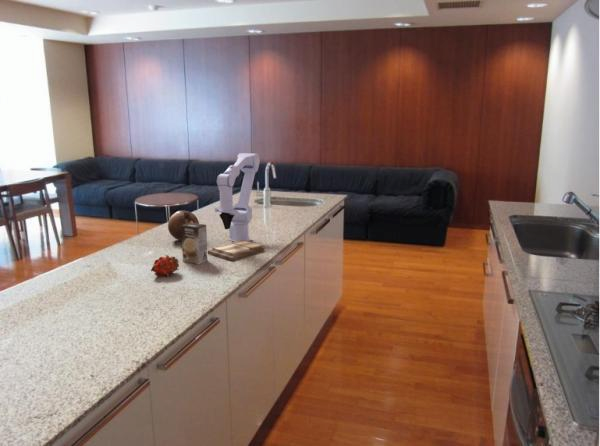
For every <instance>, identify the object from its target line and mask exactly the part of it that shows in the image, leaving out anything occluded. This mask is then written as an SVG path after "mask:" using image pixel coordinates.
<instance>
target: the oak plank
mask: <svg viewBox="0 0 600 446" xmlns="http://www.w3.org/2000/svg"><path fill="white" fill-rule="evenodd" d="M212 249H213V250H214V251H217V252H221V253H224V254H227V255H231V256H236V255H239V254H242V253H245V252H248V251H250V248H247V247H243V246H239V245H236V244H232V243H231V242H228V243H223V244H221V245H220V244H219V245H218V246H213V247H212Z"/></svg>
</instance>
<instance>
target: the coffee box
mask: <svg viewBox="0 0 600 446" xmlns="http://www.w3.org/2000/svg"><path fill="white" fill-rule="evenodd" d="M181 234H182V241H181V249H182V252H181V253H182V262H185V263H191V264H196V265H200V264H202V263H205V262H207V261H208V240H207V239H208V237H207V235H208V234H207V224H204V223H203V224H202V223H199V224H197V223H187V224H184V225H182V226H181Z"/></svg>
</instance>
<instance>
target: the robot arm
mask: <svg viewBox="0 0 600 446" xmlns="http://www.w3.org/2000/svg"><path fill="white" fill-rule="evenodd" d="M236 157H237V158H236V162H234V164H232V165H229V166H228V167H227V169H226V170H225V171H224V172H223V173H220V174H219V175H217V177H216V184H217V189H218V191H219V205H220V206H216V207H214V212H215V213H220V214H219V215H218V216H219V217H220V220H222V224H223V227H224V229H225V230H229V238H228V241H230V242H235V241H239V240H244V241H248V242H252V241H253V239H252V238H249V237H250V236H249V234H250V233H249V224H250V223H251V221H252V219H253V214H252V213H253V208H252V207H251V206H250V205H249V202H250V198H251V193H252V188H253V185H254V180H255V175H256V173H257V172H258V170H259V167H260V162H261V159H260V156H259V154H258V153H257V152H255V153H252V152H251V153H250V152H238V154H237V156H236ZM240 172H243V173H244V175H243V178H242V183H241V188H240V193H239V197H238V201H237V202H236V203H235V204H234V203H233V199H234V198H233V186H234V185H235V182H236V178H238V177H239V175H240Z"/></svg>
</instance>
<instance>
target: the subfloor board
mask: <svg viewBox="0 0 600 446" xmlns="http://www.w3.org/2000/svg"><path fill="white" fill-rule="evenodd" d="M230 243H232V244H236V245H239V246H243V247H247V248H250V251H248V252H245V253H242V254H239V255H236V256H231V255H227V254H224V253H221V252H217V251H214V250H213V248H211V249H209V250H207V255H210V256H213V257H217V258H219V259H224V260H227V261H231V262H232V261H235V260H239V259H242V258H246V257H248V256H253V255H256V254H258V253H262V252H265V247H263V246H262V244H259V243H255V242H252V241H244V240H239V241H235V242H234V241H230Z"/></svg>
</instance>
